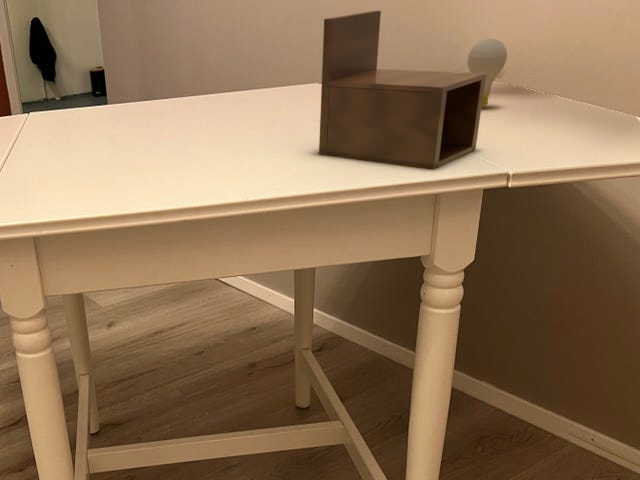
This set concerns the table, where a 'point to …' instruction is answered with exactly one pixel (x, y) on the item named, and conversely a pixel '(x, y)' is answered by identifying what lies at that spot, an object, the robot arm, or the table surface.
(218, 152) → the table surface
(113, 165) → the table surface
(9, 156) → the table surface
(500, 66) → the light bulb
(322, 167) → the table surface
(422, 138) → the shelf
